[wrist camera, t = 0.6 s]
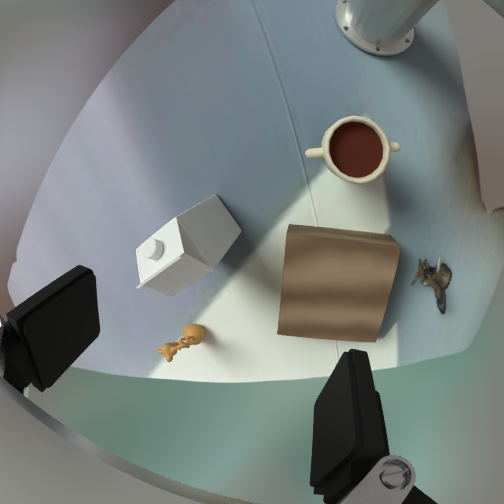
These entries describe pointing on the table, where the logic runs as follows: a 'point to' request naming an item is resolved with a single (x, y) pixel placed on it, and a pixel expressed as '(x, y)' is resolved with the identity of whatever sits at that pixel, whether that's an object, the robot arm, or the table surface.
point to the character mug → (355, 149)
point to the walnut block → (336, 283)
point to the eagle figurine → (435, 280)
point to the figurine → (191, 336)
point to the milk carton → (187, 247)
